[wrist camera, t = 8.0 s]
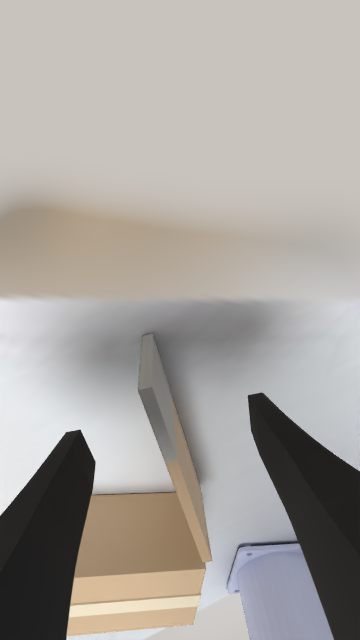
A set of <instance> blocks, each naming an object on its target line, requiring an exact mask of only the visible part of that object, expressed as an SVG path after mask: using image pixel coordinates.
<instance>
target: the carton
mask: <svg viewBox="0 0 360 640" xmlns="http://www.w3.org/2000/svg"><path fill="white" fill-rule="evenodd" d="M205 571H206V566H205V563H203V562H202V559H201V557H200V554H199V551H198V549H197V546H196V543H195V541H194V538H193V535H192V533H191V530H190V527H189V525H188V522H187V519H186V517H185V514H184V511H183V509H182V506H181V504H180V501H179V498H178V496H177V493H176V492H173V493H146V494H118V495H91V499H90V504H89V508H88V513H87V517H86V521H85V526H84V530H83V534H82V539H81V543H80V548H79V552H78V557H77V562H76V568H75V575H74V582H73V589H72V596H71V604H70V612H69V620H68V628H67V636H74V635H85V634H96V633H107V632H118V631H128V630H139V629H150V628H161V627H172V626H183V625H193V624H194V619H195V615H196V610H197V606H199V601H200V597H201V588H202V584H203V579H204V575H205Z"/></svg>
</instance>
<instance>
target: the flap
mask: <svg viewBox="0 0 360 640" xmlns="http://www.w3.org/2000/svg"><path fill="white" fill-rule="evenodd" d="M138 392H139V395H140V397H141V400H142V403H143V405H144V408H145V410H146V413H147V416H148V418H149V421H150V424H151V426H152V429H153V432H154V434H155V437H156V440H157V442H158V445H159V448H160V450H161V453H162V456H163V458H164V461H165V464H166V466H167V469H168V472H169V474H170V477H171V480H172V482H173V485H174V488H175V490H176V493H177V496H178V498H179V501H180V504H181V506H182V509H183V511H184V514H185V517H186V519H187V522H188V525H189V527H190V530H191V533H192V535H193V538H194V541H195V543H196V546H197V549H198V551H199V554H200V557H201V559H202V562H203V563H205V562H209V561H212V557H211V551H210V544H209V538H208V532H207V526H206V519H205V513H204V507H203V501H202V494H201V488H200V485H199V482H198V478H197V475H196V472H195V469H194V465H193V462H192V459H191V456H190V453H189V449H188V446H187V443H186V440H185V436H184V433H183V430H182V427H181V424H180V420H179V417H178V414H177V411H176V407H175V404H174V401H173V398H172V395H171V391H170V388H169V385H168V382H167V378H166V375H165V372H164V369H163V365H162V362H161V359H160V356H159V353H158V349H157V346H156V343H155V340H154V336H153V333H152V334H148V335H144V336H142V345H141V357H140V369H139V382H138Z"/></svg>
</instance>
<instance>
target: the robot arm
mask: <svg viewBox="0 0 360 640" xmlns="http://www.w3.org/2000/svg"><path fill="white" fill-rule="evenodd" d="M248 403H249V414H250V424H251V432H252V434H253V437H254V440H255V443H256V446H257V449H258V452H259V454H260V456H261V459H262V461H263V463H264V465H265V467H266V469H267V471H268V474H269V476H270V478H271V480H272V482H273V484H274V486H275V488H276V490H277V492H278V495H279V497H280V499H281V501H282V503H283V505H284V507H285V509H286V512H287V514H288V516H289V519H290V521H291V523H292V526H293V528H294V531H295V534H296V536H297V539H298V542H299V544H282V545H266V546H249V547H241V548H239V550H238V552H237V556H236V559H235V562H234V566H233V569H232V572H231V575H230V579H229V582H228V585H227V591H228V593H230V594H233V593H240V596H241V600H242V605H243V610H244V614H245V619H246V624H247V628H248V633H249V638H250V640H360V471H358V470H357V469H355V468H354V467H352V466H351V465H349V464H348V463H346V462H345V461H343V460H342V459H340V458H339V457H337V456H336V455H335V454H333V453H332V452H330V451H329V450H328V449H326V448H325V447H324V446H322V445H321V444H320V443H319V442H317V441H316V440H315V439H313V438H312V437H311V436H310V435H308V434H307V433H306V432H305V431H304V430H302V429H301V428H300V427H299V426H298V425H297V424H295V423H294V422H293V421H292V420H291V419H290V418H289V417H287V416H286V415H285V414H284V413H283V412H282V411H281V410H280V409H279V408H278V407H277V406H276V405H275V404H274V403H273V402H272V401H271V400H270V399H269V398H268V397H267V396H266V395H265V394H263V393H257V394H252V395H248ZM95 463H96V462H95V460H94V458H93V456H92V454H91V451H90V449H89V447H88V445H87V443H86V441H85V438H84V436H83V434H82V432H81V430H76V431H71V432H66V433H65V435H64V436H63V437H62V439H61V440H60V441H59V443H58V444H57V445H56V447H55V448H54V449H53V451H52V452H51V453H50V455H49V456H48V457H47V459H46V460H45V461H44V463H43V464H42V465H41V467H40V468H39V469H38V470H37V472H36V473H35V474H34V476H33V477H32V478H31V480H30V481H29V482H28V483H27V485H26V486H25V487H24V488H23V489H22V491H21V492H20V493H19V494H18V495H17V497H16V498H15V499H14V500H13V502H12V503H11V504H10V505H9V506H8V508H7V509H6V510H5V511H4V512H3V513H2V515H1V516H0V640H66V636H67V628H68V620H69V612H70V604H71V596H72V589H73V582H74V575H75V568H76V562H77V557H78V552H79V548H80V543H81V539H82V534H83V530H84V526H85V521H86V517H87V513H88V508H89V504H90V499H91V494H92V490H93V482H94V473H95Z"/></svg>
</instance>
